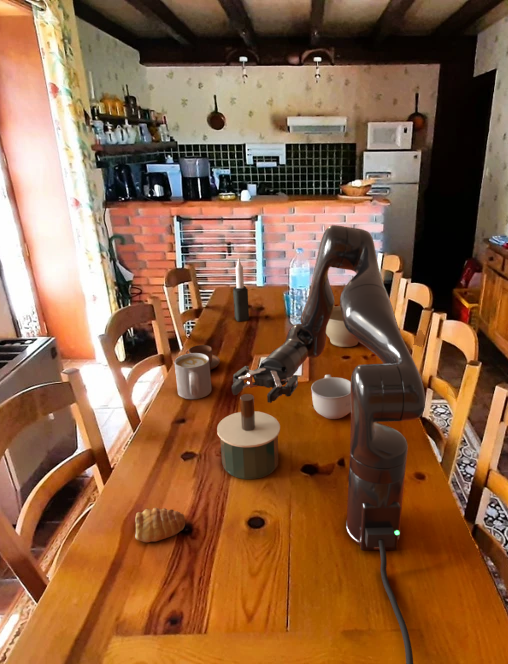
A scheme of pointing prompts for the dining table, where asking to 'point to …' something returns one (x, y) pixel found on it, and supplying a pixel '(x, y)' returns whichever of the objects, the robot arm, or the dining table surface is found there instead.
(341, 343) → the planter bowl
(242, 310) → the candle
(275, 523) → the dining table surface
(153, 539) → the pastry
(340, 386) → the teacup
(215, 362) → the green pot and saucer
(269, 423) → the lid
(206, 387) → the coffee mug
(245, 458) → the green pot
